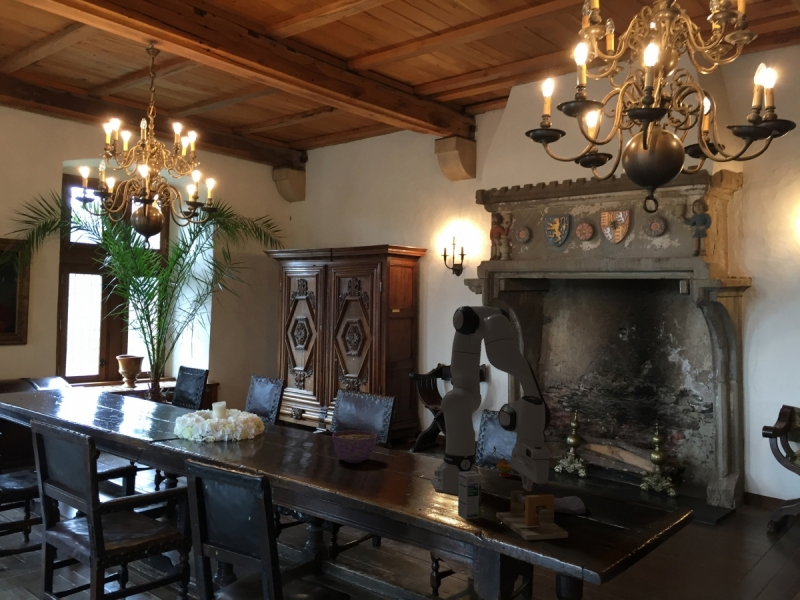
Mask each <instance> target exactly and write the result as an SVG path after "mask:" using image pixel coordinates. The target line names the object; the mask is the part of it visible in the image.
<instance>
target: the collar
mask: <svg viewBox="0 0 800 600" xmlns="http://www.w3.org/2000/svg"><path fill="white" fill-rule="evenodd" d="M524 496H525V505H524V511H525V523H524V524H525V525H526V526H527V527H529V526H539V515H536V506H541V507H542V508H544V509H552V510H554V497H555V495H553V494H550V493H549V494H532V495H531V494H530V495H529V494H528V495H524Z"/></svg>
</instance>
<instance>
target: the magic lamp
mask: <svg viewBox="0 0 800 600" xmlns="http://www.w3.org/2000/svg"><path fill="white" fill-rule="evenodd" d="M496 450H497V447H495V446H493V452H492V453H491V458H492V459H493V460H494V462H495V463H496V468H497V469H498V470H499V471H500V472H501V473H499V474H498V476H499V477H503V478H510V477H512V475H511V474H509V472H513V471H515V470H514V469H512V468H511V464H510V463H508V462H507V460H506V459H505V457H502V458H501V459H498V457H497V453H496ZM494 455H495V458H494Z"/></svg>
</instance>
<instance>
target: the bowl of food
mask: <svg viewBox="0 0 800 600" xmlns="http://www.w3.org/2000/svg"><path fill="white" fill-rule="evenodd" d="M331 435H332V441H333V445H334V449H335V454H336V455H337V457H338V458H340V459H341V460H343V461H344V462H346V463H350V464H359V463H363V462H364V461H366V460H368V459H369V458H371V457H372V454H373V453H374V449H375V446H376V443H377V439H378V434H377V433H374V432H372V431H366V430H365V431H364V430H355V429H354V430H342V431H341V430H340V431H334V432H332V434H331Z"/></svg>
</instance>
